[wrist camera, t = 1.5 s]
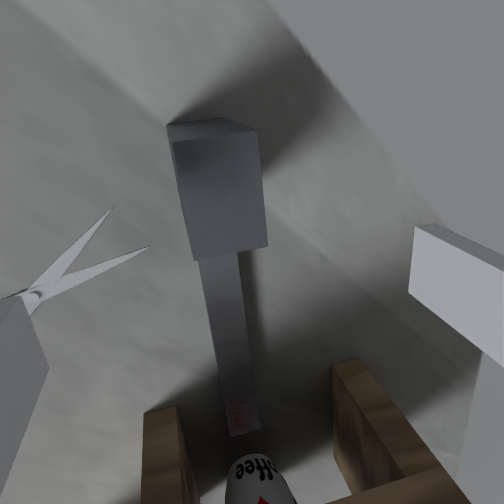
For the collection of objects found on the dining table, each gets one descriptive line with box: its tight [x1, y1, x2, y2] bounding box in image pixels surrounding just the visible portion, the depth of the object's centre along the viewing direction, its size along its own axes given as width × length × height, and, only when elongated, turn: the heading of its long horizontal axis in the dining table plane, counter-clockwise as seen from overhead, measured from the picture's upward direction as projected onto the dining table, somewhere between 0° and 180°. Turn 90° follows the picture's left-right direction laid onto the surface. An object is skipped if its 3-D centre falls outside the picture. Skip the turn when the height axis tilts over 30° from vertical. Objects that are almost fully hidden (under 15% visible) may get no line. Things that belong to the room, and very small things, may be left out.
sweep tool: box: [166, 118, 268, 437], centre depth 28 cm, size 29×4×10 cm, turn 6°
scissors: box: [8, 208, 150, 316], centre depth 28 cm, size 11×1×20 cm
